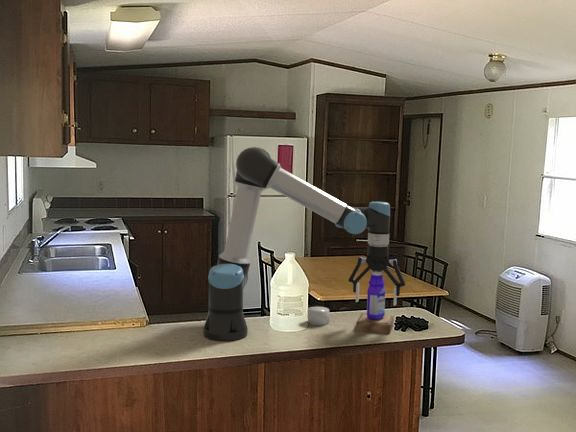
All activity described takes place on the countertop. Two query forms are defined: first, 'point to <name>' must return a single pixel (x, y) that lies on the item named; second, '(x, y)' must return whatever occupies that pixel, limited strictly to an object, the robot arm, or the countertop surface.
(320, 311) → the grey rounded block
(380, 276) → the bottle
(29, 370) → the countertop surface
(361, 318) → the base
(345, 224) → the robot arm
